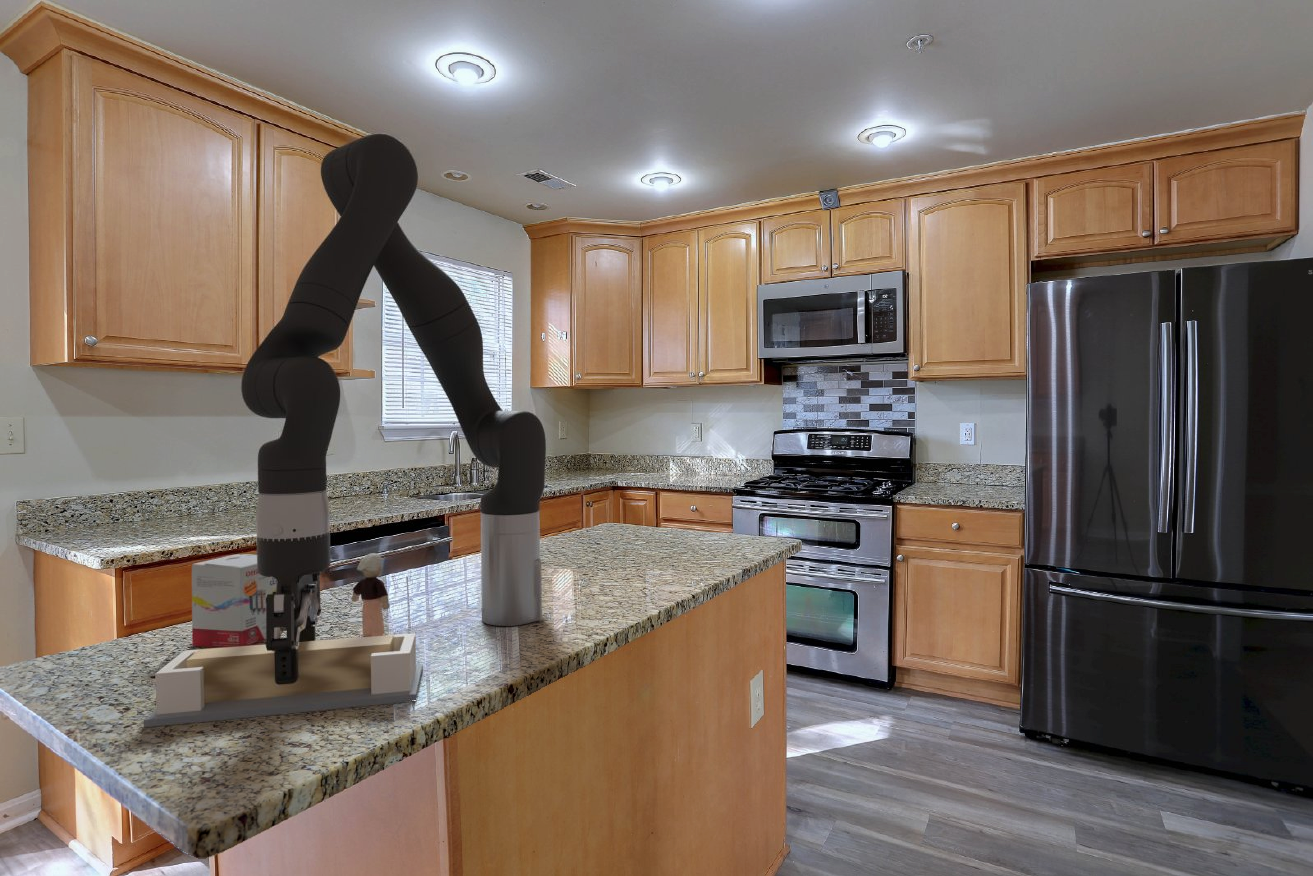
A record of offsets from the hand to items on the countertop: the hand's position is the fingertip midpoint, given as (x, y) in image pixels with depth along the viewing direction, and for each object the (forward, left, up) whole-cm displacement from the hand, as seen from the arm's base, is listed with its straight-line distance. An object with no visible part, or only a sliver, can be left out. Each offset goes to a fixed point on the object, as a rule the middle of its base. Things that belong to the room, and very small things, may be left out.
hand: (296, 669), depth 81 cm
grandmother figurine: (-6, -20, -3) cm, 21 cm away
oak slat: (0, 0, -2) cm, 2 cm away
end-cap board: (0, 0, -3) cm, 3 cm away
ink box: (+14, -26, -3) cm, 29 cm away
